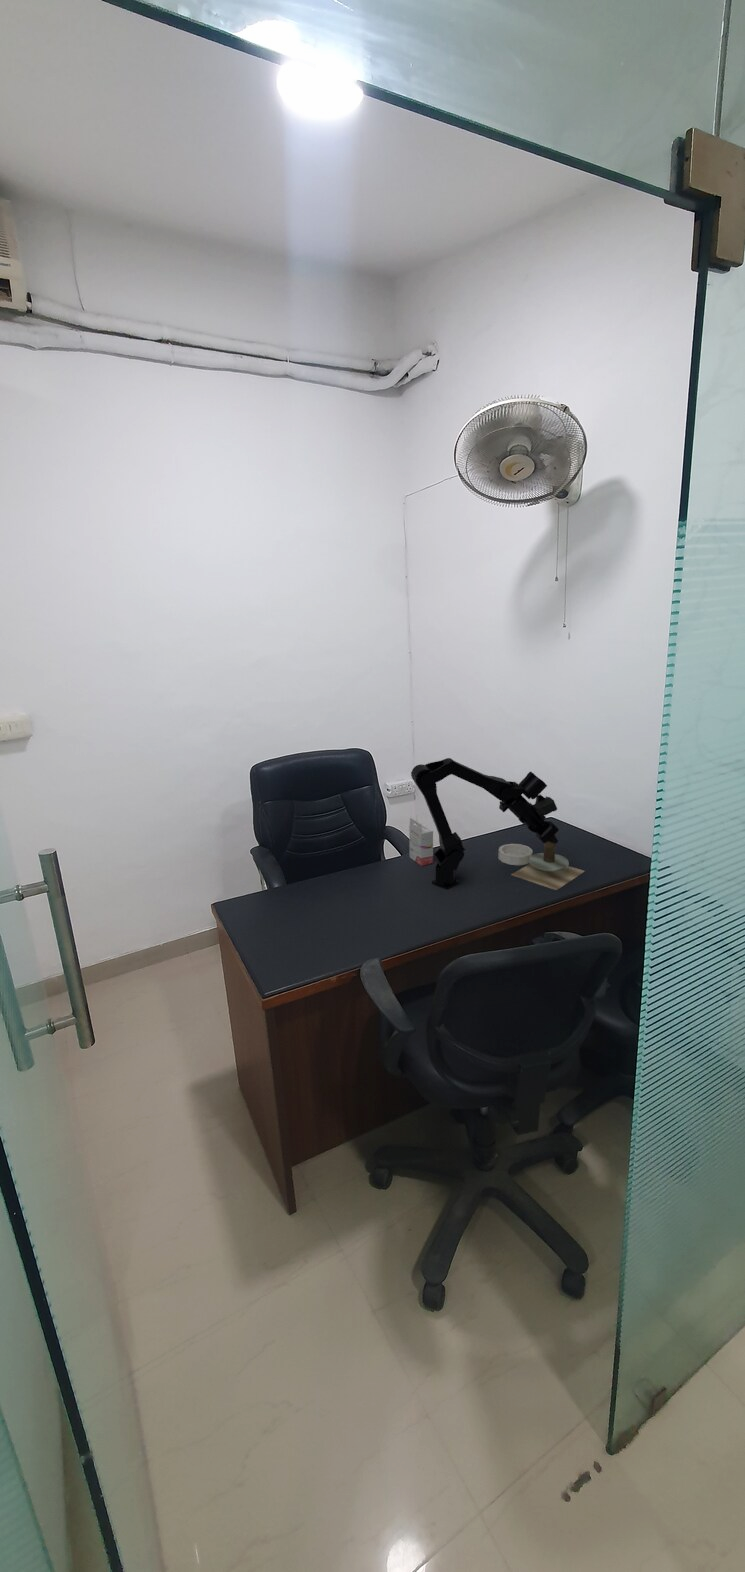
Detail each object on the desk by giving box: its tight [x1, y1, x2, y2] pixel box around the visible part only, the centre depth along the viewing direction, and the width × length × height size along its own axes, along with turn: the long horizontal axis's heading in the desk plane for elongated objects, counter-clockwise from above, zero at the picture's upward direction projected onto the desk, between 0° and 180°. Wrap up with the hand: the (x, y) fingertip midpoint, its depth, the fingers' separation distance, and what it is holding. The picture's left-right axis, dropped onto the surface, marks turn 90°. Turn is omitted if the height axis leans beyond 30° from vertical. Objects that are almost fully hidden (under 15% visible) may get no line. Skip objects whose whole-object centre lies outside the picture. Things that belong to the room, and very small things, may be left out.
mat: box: [510, 863, 586, 891], centre depth 193 cm, size 18×16×1 cm
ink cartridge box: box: [408, 817, 434, 867], centre depth 204 cm, size 9×5×15 cm, turn 25°
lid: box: [528, 833, 570, 871], centre depth 191 cm, size 12×12×11 cm
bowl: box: [497, 843, 534, 866], centre depth 204 cm, size 11×11×3 cm
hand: (554, 840), depth 190 cm, fingers closed on lid, 3 cm apart
